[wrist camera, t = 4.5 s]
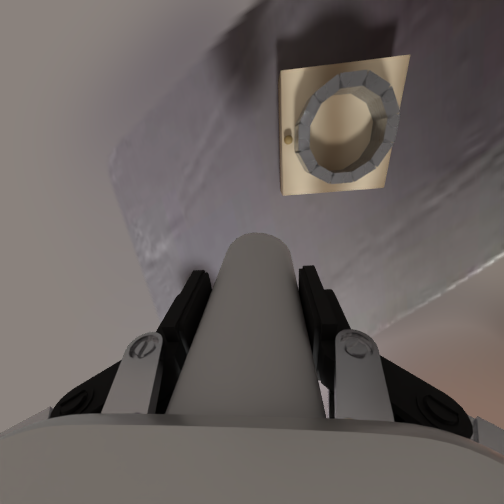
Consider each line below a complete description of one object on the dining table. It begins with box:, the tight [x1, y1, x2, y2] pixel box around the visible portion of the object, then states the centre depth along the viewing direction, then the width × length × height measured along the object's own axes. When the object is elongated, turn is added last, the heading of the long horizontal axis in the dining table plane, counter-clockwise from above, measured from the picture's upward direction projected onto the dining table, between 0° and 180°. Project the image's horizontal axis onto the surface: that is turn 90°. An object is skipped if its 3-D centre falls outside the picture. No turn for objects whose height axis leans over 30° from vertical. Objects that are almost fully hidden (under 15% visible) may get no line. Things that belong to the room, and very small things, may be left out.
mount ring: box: [294, 70, 400, 184], centre depth 19 cm, size 8×8×2 cm
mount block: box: [278, 55, 410, 196], centre depth 21 cm, size 11×11×4 cm
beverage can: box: [165, 233, 326, 418], centre depth 10 cm, size 5×5×12 cm
